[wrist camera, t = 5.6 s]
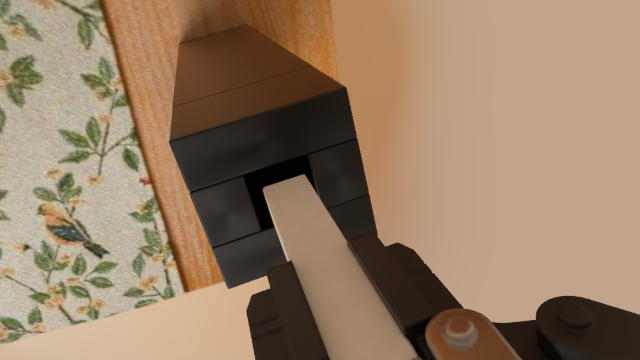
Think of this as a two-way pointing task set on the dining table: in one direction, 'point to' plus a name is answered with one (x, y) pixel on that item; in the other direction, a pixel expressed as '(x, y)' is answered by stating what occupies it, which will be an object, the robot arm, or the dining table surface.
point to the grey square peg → (333, 278)
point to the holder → (261, 144)
